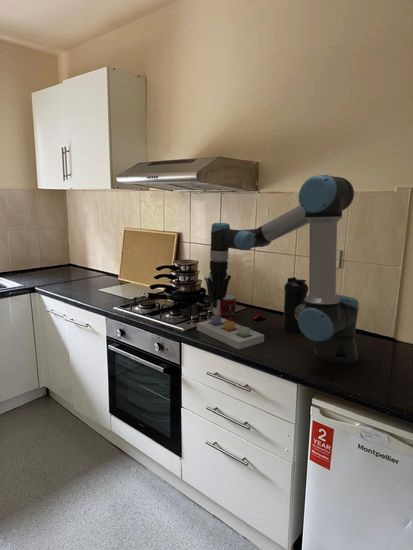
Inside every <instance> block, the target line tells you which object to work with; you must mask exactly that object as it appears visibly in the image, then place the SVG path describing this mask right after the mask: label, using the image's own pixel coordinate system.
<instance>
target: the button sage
mask: <svg viewBox="0 0 413 550" xmlns="http://www.w3.org/2000/svg"><path fill="white" fill-rule="evenodd" d="M241 326H242V327H239V331H238V336H239V337H242V338H247V337H249V333H250V329H251V328H250V327H248V326H245V325H241Z"/></svg>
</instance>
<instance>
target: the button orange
mask: <svg viewBox="0 0 413 550" xmlns="http://www.w3.org/2000/svg"><path fill="white" fill-rule="evenodd" d="M235 323H236V322H235V320H233V321H225V322H224V330H226V331H228V332H231V331H235Z"/></svg>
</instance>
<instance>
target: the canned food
mask: <svg viewBox="0 0 413 550" xmlns="http://www.w3.org/2000/svg"><path fill="white" fill-rule="evenodd" d="M236 305H237V297H236V296H235V295H233V294H226V297H225V298H223V300H221V307H220V315H218V316H221V317H222V318H223V319H226V320H228V321H235V320H236V319H235V318H236V307H237V306H236Z"/></svg>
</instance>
